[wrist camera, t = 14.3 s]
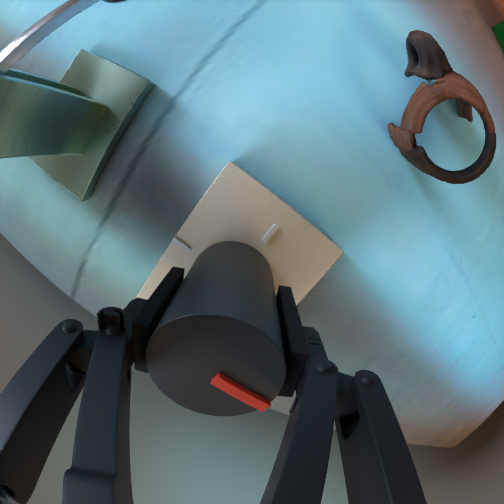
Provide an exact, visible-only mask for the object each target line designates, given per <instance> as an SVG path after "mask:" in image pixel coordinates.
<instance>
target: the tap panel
mask: <svg viewBox="0 0 504 504" xmlns="http://www.w3.org/2000/svg"><path fill="white" fill-rule="evenodd" d="M225 241H236V242H241V243H245V244H247V245H250V246H252V247H253V248H255V249H256V250H258V251H259V252H260V253H261V254H262V255H263V256H264V257H265V258H266V260H267V261H268V263H269V265H270V268H271V271H272V275H273V281H274V287H275V294H276V295H277V291H278V287H279V285H282V286H288V287H291V289H292V293H293V296H294V300H295V303H296V305H297V304H298V303H299V302H300V301H301V300H302V299H303V298H304V297H305V296H306V295H307V294H308V293H309V291H310V290H311V289H312V288H313V287H314V286H315V285H316V284H317V283H318V281H319V280H320V279H321V278H322V277H323V276H324V275H325V274H326V272H327V271H328V270H329V269H330V268H331V267H332V266H333V264H334V263H335V262H336V261H337V260H338V259H339V258H340V256H341V255H342V254H343V253H344V252H343V251H342V250H341V249H340V248H339V247H338V246H337V245H336V244H335V243H334V242H333V241H332V240H331V239H330V238H328V237H327V236H326V235H325V234H324V233H323V232H321V231H320V230H319V229H318V228H317V227H315V226H314V225H313V224H312V223H311V222H309V221H308V220H307V219H306V218H305V217H303V216H302V215H301V214H300V213H298V212H297V211H296V210H295V209H294V208H292V207H291V206H290V205H289V204H287V203H286V202H285V201H284V200H282V199H281V198H280V197H279V196H277V195H276V194H275V193H273V192H272V191H271V190H270V189H268V188H267V187H266V186H264V185H263V184H262V183H261V182H259V181H258V180H257V179H255V178H254V177H253V176H251V175H250V174H249V173H247V172H246V171H245V170H243V169H242V168H241V167H239V166H238V165H237V164H235V163H234V162H232V161H229V162H228V163H227V165H226V166H225V167H224V169H223V170H222V171H221V173H220V174H219V175H218V177H217V178H216V179H215V181H214V182H213V183H212V185H211V186H210V187H209V189H208V190H207V191H206V193H205V194H204V196H203V197H202V198H201V200H200V201H199V202H198V204H197V205H196V207H195V208H194V210H193V211H192V212H191V214H190V215H189V217H188V218H187V220H186V221H185V222H184V224H183V225H182V227H181V228H180V230H179V231H178V233H177V234H176V236H175V237H174V238H173V240H172V242H171V243H170V245H169V246H168V248H167V249H166V251H165V252H164V254H163V255H162V257H161V259H160V260H159V262H158V263H157V265H156V266H155V268H154V270H153V271H152V273H151V274H150V276H149V278H148V279H147V281H146V282H145V284H144V286H143V287H142V289H141V291H140V292H139V294H138V296H137V297H136V298H142V299H147V300H148V299H149V297H150V296H151V295H152V293H153V292H154V291H155V289H156V288H157V287H158V285H159V284H160V283H161V281H162V280H163V279H164V277H165V276H166V275H167V273H168V272H169V271H170V269H171V268H172V267H173V266H174V267H180V268H185V270H184V278H185V277H186V275H187V273H188V272H189V270H190V268H191V267H192V265H193V263H194V262H195V260H196V258H197V257H198V256H199V255H200V253H201V252H202V251H204V250H205V249H206V248H208V247H209V246H211V245H213V244H216V243H219V242H225Z"/></svg>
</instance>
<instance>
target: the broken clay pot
mask: <svg viewBox="0 0 504 504" xmlns="http://www.w3.org/2000/svg"><path fill="white" fill-rule="evenodd" d="M406 48H407V54H408V61H409V63H408V66H407V69H406V71H405V76H407V77H410V76H412V75H416V76H418V77H420V78H423V79H426V80H436V81H435V83H434V84H433V85H432V86H429V85H428V84H426V83H424V82H422V83H421V84H420V85H419V87H418V88H417V89H416V91H415V93H414V94H413V95H412V96H411V98H410V100H409V103H408V105H407V107H406V108H405V111H404V113H403V116H402V121H401V127H397V126H395V125H394V124H393V123H389V124H388V125H387V127H388V131H389V134H390V138H391V140H392V141H393V142H394V144H395V146H396V147H398V148H399V149H400V152H401V154H402V155H403V156H404V157H405V158H406V159H407V160H408V161H409V162H410V163H412V164H413V165H414V166H415V167H417V168H418V169H419V170H421V171H422V172H424V173H426V174H428V175H430V176H433V177H435V178H436V179H439V180H441V181H446V182H447V183H452V184H464V183H467V182H471V181H473V180H475V179H476V178H478V177H479V176H480V175H481V174H483V173H484V172H485V170H486V169H487V168H488V167H489V165H490V163H491V162H492V160H493V157H494V153H495V149H496V134H495V127H494V123H493V120H492V117H491V115H490V113H489V111H488V109H487V106H486V104H485V102H484V100H483V98H482V96H481V95H480V93H479V92H478V90H477V89H476V88H475V87H474V86H473V85H472V84H471V83H470V82H469V81H468V80H467V79H466V78H464V77H463V76H462V75H460V74H458V73H456V72H454V71H453V69H452V68H451V66H450V64H449V62H448V60H447V58H446V55H445V53H444V51H443V50H442V49H441V47H440V46H439V44H438V43H437V41H436V40H435V39H434V38H433V37H432V35H430V34H429V33H426V32H424V31H419V30H415V31H411V32H409V35H408V37H407V39H406ZM446 99H455V102H456V105H457V110H458V116H459V117H462V118H465V119H467V120H468V121H469V122H472V120H473V117H472V106H473V107H474V108H475V109H476V110H477V112H478V113H479V115H480V116H481V119H482V121H483V124H484V129H485V144H484V148H483V150H482V153H481V155H480V156H479V158H478V159H477V160H476V162H474V163H473V164H472V165H471V166H469V167H467V168H465V169H463V170H459V171H449V170H445V169H443V168H441V167H439V166H437V165H435V164H434V163H433V162H432V161H431V160H430V158H429V157H428V156H427V154H426V152H425V150H424V148H423V147H422V146H418V145H417V143H416V139H415V133H422V129H423V126H424V122H425V119H426V117H427V115H428V113H429V112H430V111H431V110H432V108H433V107H435V106H436V105H437V104H439V103H440V102H442V101H444V100H446Z"/></svg>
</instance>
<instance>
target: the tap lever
mask: <svg viewBox="0 0 504 504" xmlns="http://www.w3.org/2000/svg"><path fill="white" fill-rule="evenodd" d="M98 1H100V0H68V1H67V2H65V3H64V4H62V5H61V6H59V7H57V8H56V9H55V10H53V11H52V12H50V13H49V14H47V15H46V16H44V17H43V18H42V19H40V20H39V21H38V22H36V23H35V24H34V25H32V26H31V27H30V28H29V29H27V30H26V31H25V32H24V33H22V34H21V35H20V36H19V37H18V38H17V39H15V40H14V41H13V42H12V43H11V44H10V45H9V46H8V47H6V48H5V49H4V50H3V51H2V52H1V53H0V75H4V74H5V73H6V72H7V71H8V70H9V69H10V68H11V67H12V66H13V65H14V64H15V63H16V62H17V61H18V60H19V59H21V58H22V57H23V56H24V55H25V54H26V53H27V52H28V51H29V50H31V49H32V48H33V47H34V46H35V45H36V44H38V43H39V42H40V41H41V40H43V39H44V38H45V37H46V36H48V35H49V34H50V33H51V32H53V31H54V30H55V29H57V28H58V27H60V26H61V25H62V24H64V23H65V22H67V21H68V20H70V19H71V18H72V17H74V16H76V15H77V14H79V13H80V12H82V11H83V10H85V9H87V8H88V7H90V6H92V5H93V4H95V3H97V2H98ZM102 1H104V2H108V3H120V2H124V1H127V0H102Z"/></svg>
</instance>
